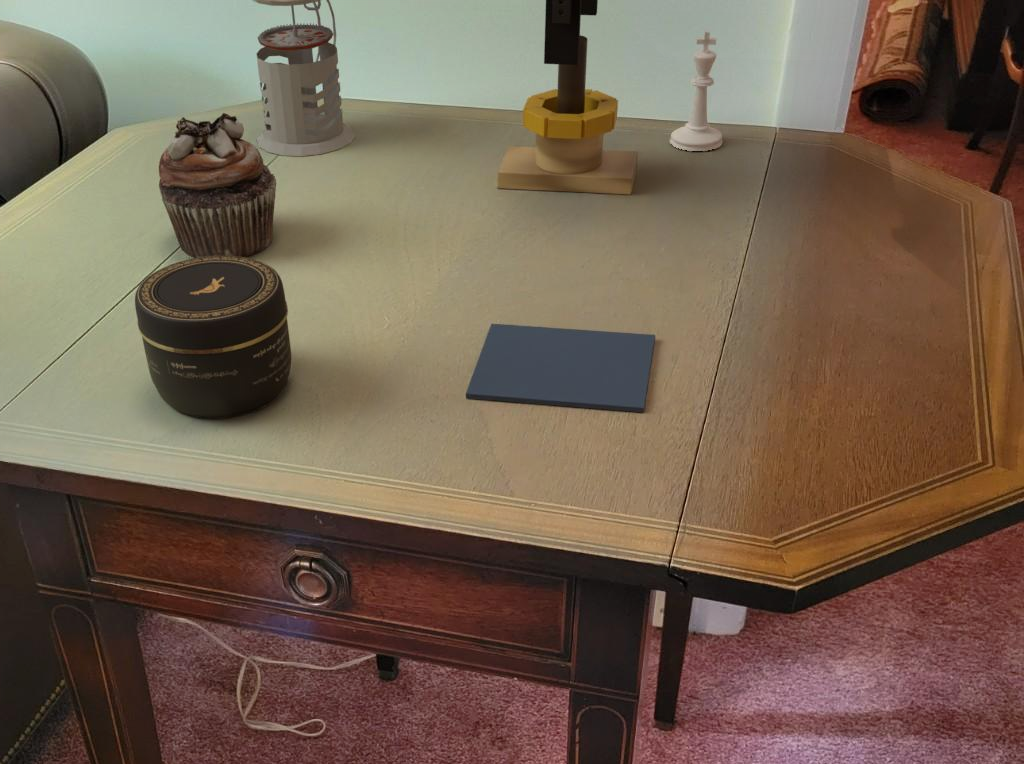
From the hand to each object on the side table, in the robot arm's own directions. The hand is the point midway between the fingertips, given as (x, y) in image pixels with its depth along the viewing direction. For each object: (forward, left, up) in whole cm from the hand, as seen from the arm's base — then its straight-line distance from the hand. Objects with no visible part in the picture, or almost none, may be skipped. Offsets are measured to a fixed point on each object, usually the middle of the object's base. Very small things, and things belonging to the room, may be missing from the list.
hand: (571, 37), depth 103 cm
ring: (0, 0, -6) cm, 6 cm away
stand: (0, 0, -12) cm, 12 cm away
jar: (+19, +40, -12) cm, 46 cm away
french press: (+27, -8, -12) cm, 31 cm away
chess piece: (-11, -10, -12) cm, 19 cm away
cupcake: (+27, +17, -12) cm, 34 cm away
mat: (-4, +34, -12) cm, 36 cm away
